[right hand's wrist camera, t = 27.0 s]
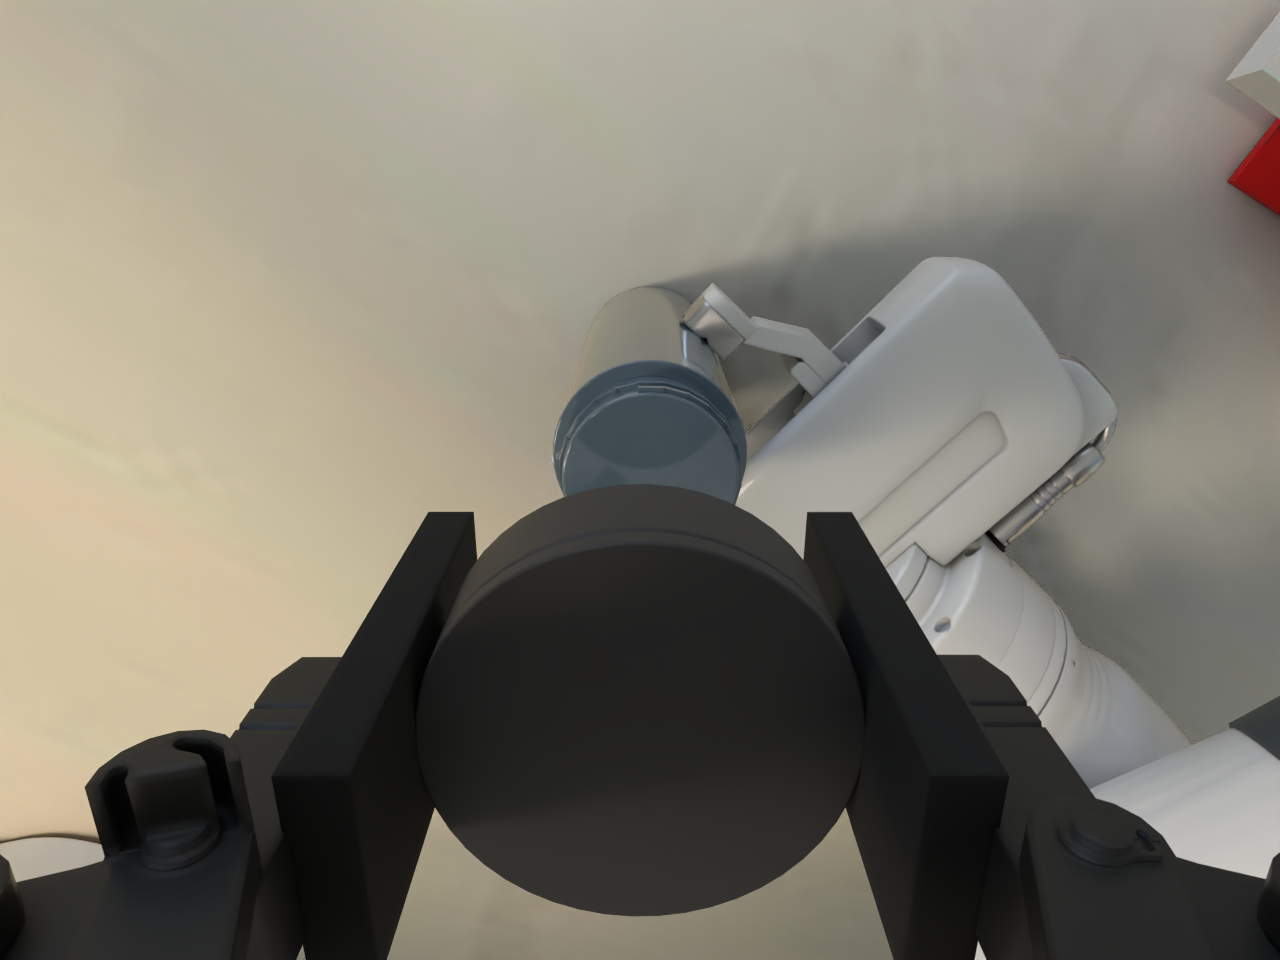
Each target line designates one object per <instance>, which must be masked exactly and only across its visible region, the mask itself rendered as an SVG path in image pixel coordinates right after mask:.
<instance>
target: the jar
mask: <svg viewBox="0 0 1280 960" xmlns="http://www.w3.org/2000/svg"><path fill="white" fill-rule="evenodd" d="M691 305H692V304H691V303H690V302H689V301H688V300H687V299H685V298H684V297H682V296H681V295H679V294H677V293H675V292H673V291H670V290H667V289H663V288H658V287H640V288H635V289H631V290H628V291H625V292H623V293H621V294H619V295H617V296H616V297H615V298H613V299H612V300H610V301H609V302H608V303H607V304H606V305H605V306H604V307H603V308H602V309H601V310H600V312H599V313H598V315H597V316H596V318H595V320H594V322H593V324H592V326H591V329H590V332H589V335H588V338H587V341H586V343H585V346H584V349H583V352H582V355H581V358H580V361H579V364H578V367H577V369H576V372H575V375H574V378H573V381H572V384H571V387H570V390H569V392H568V395H567V398H566V401H565V404H564V407H563V410H562V413H561V416H560V418H559V422H558V425H557V428H556V431H555V436H554V442H553V461H554V469H555V473H556V477H557V480H558V483H559V485H560V488H561V490H562V492H563V494H564V497H566V496H569V495H573V494H576V493H580V492H584V491H587V490H591V489H595V488H601V487H608V486H615V485H624V484H655V485H665V486H674V487H680V488H685V489H689V490H693V491H698V492H702V493H705V494H708V495H711V496H714V497H716V498H719V499H722V500H725V501H727V502H730V503H732V504H734V505H736V502H737V499H738V496H739V492H740V489H741V487H742V481H743V477H744V473H745V470H746V463H747V441H746V434H745V430H744V427H743V423H742V420H741V417H740V415H739V412H738V409H737V407H736V404H735V401H734V399H733V396H732V393H731V390H730V388H729V385H728V382H727V380H726V377H725V374H724V372H723V369H722V366H721V363H720V361H719V358H718V355H717V354H716V353H714V352H713V351H712V349H711V348H710V347H709V346H708V343H707V340H706V338H701V337H699V336H698V335H696V334H695V333H694V332H693V331H692V330H691V329H690V328H689V327H688V326H687V325H686V324H685V323H684V321H683V317H682V315H683V314H684V313H685V312H686V310H687V309H688V308H689V307H690V306H691Z"/></svg>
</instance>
